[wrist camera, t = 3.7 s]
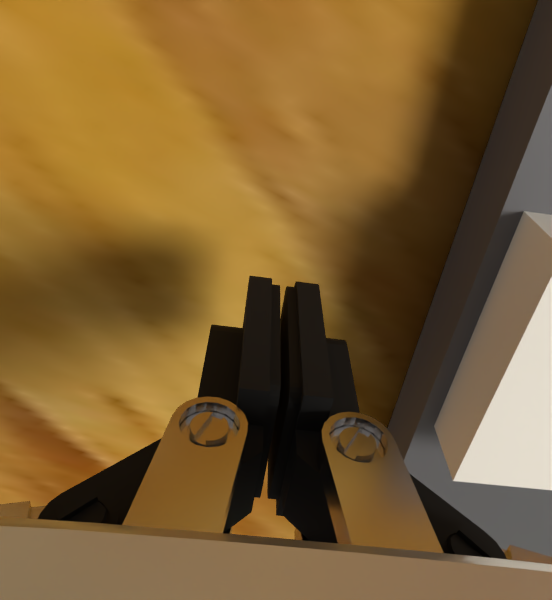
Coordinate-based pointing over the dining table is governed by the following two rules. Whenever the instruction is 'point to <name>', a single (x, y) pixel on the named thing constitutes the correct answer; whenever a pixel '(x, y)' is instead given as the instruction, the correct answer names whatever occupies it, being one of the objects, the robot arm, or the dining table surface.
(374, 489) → the robot arm
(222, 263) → the dining table surface
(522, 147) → the block
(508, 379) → the tile
